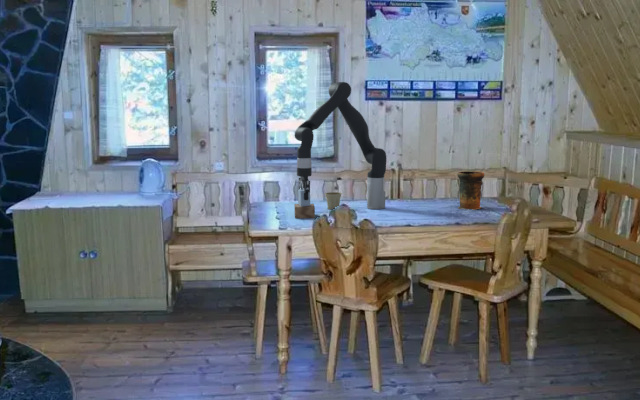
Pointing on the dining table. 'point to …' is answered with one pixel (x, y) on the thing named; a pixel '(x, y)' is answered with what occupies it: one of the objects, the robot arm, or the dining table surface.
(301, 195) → the light grey block
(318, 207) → the dining table surface
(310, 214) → the walnut box
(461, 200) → the vessel
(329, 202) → the flower pot
